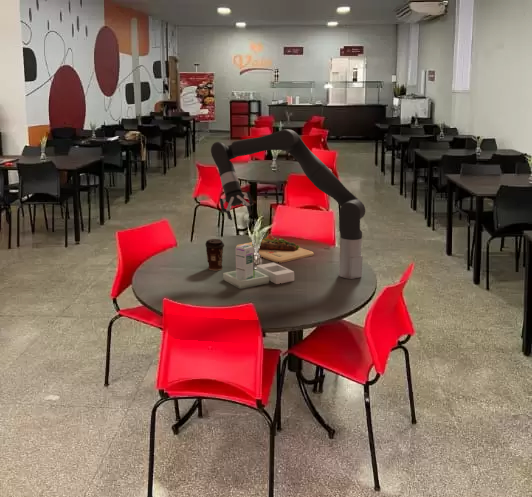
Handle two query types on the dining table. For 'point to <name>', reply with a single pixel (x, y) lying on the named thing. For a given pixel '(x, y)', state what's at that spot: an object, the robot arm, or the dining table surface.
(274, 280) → the holder
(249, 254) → the syrup box
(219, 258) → the coffee cup
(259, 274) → the tray
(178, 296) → the dining table surface
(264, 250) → the cutting board
